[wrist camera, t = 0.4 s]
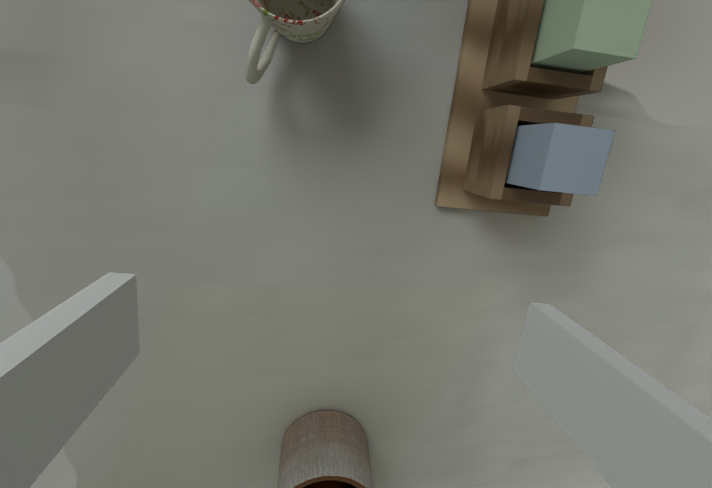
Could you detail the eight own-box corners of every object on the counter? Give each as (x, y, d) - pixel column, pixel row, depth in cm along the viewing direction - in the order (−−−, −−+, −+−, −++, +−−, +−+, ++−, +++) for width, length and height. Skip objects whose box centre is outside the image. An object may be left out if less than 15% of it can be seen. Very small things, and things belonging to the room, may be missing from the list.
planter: (316, 487, 48) (316, 568, 39) (263, 438, 45) (250, 514, 36) (381, 444, 47) (397, 516, 38) (332, 391, 44) (337, 456, 35)
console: (495, -162, 31) (546, -247, 24) (629, -130, 32) (711, -201, 26) (434, 204, 39) (459, 218, 32) (543, 214, 41) (588, 229, 34)
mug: (361, -13, 33) (380, -77, 23) (302, 115, 35) (297, 105, 26) (277, -69, 31) (259, -164, 21) (220, 70, 33) (182, 42, 24)
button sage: (532, 4, 30) (592, -35, 24) (584, 13, 31) (658, -22, 24) (518, 67, 32) (573, 48, 25) (569, 75, 32) (635, 58, 26)
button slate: (506, 126, 33) (555, 122, 26) (555, 132, 34) (615, 130, 27) (495, 180, 34) (538, 190, 28) (542, 185, 35) (596, 195, 28)
